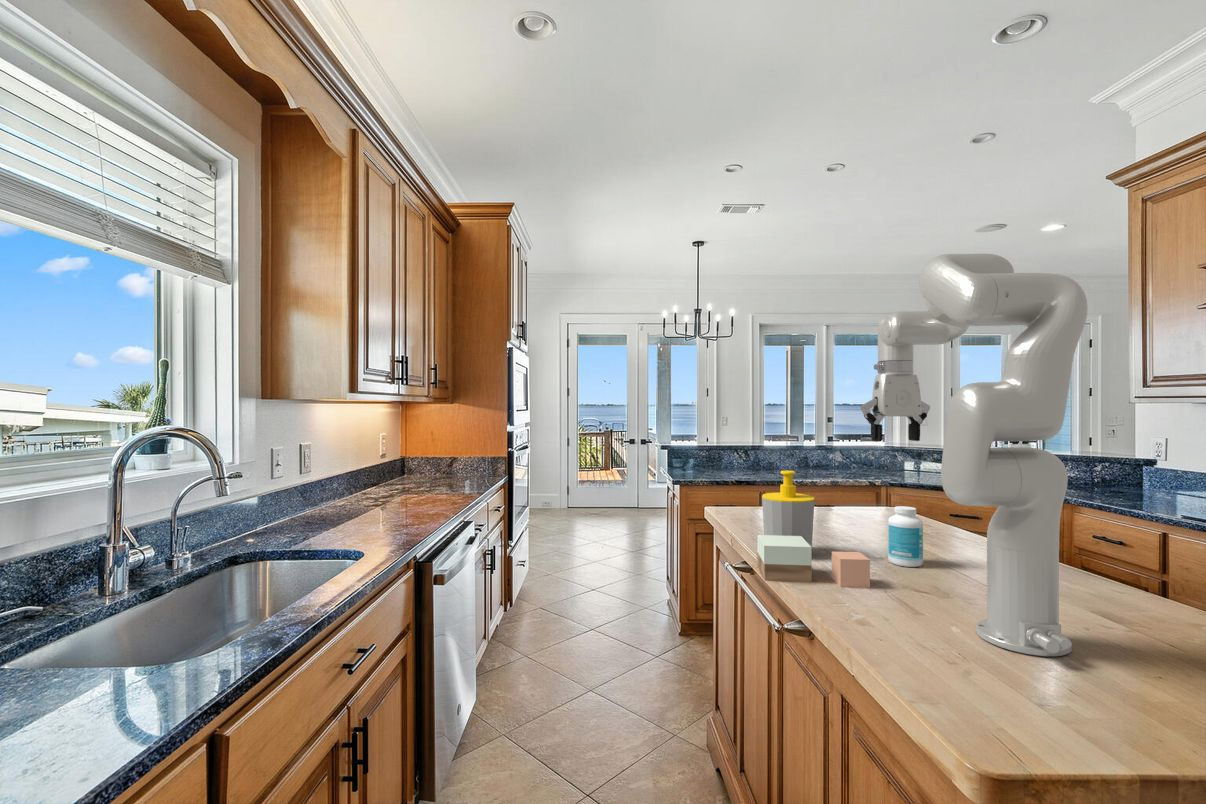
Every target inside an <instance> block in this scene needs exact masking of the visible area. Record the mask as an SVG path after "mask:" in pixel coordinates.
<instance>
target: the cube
mask: <svg viewBox="0 0 1206 804" xmlns="http://www.w3.org/2000/svg"><path fill="white" fill-rule="evenodd" d="M831 579H832V580H833V581H834V582H835V583H836V584H837V585H838V586H839V587H840V588H855V589H856V588H859V589H862V588H863V589H870V588H871V559H870V558H868V557H867V556H865V554H863V553H862V552H860V551H831Z"/></svg>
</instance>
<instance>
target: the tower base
mask: <svg viewBox="0 0 1206 804" xmlns="http://www.w3.org/2000/svg"><path fill="white" fill-rule="evenodd" d="M756 568H757V570H758V571H759V574H760V575H761V577H762V578H763V580H764V581H765V582H766V581H771V582H772V581H773V582H803V583H804V582H805V583H812V582H813V577H812V576H813V574H812V573H813V572H812V571H813V569H812V568H813V566H811V565H781V564H764V563H763V561H762V559H761V557H760V556H759V554H758V552H757V551H756Z"/></svg>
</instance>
